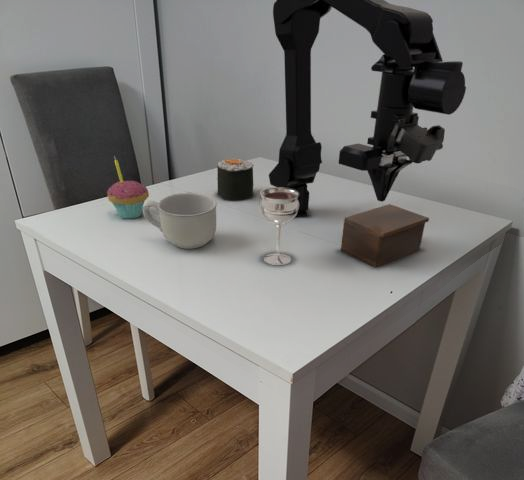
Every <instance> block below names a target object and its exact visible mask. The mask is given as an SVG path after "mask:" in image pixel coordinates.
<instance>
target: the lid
mask: <svg viewBox="0 0 524 480" xmlns="http://www.w3.org/2000/svg"><path fill="white" fill-rule="evenodd" d="M429 220H430V218H429V217H428V216H424V215H422V214H419V213H416V212H413V211H410V210H409V209H405V208H402V207H399V206H396V205H394V204H391V203H389V204H385V205H382V206H378V207H375V208H372V209H369V210H366V211H365V210H364V211H362V212H359V213H356V214H352V215H349V216H345V217H343V223H344V222H347V223H349V224H352V225H354V226H357V227H359V228H361V229H364V230H366V231H369V232H371V233H373V234H376V235H378V236H381V237H386V236H389V235H391V234H394V233H397V232H400V231H403V230H406V229H408V228H411V227H414V226H417V225H420V224H423V223H425V224H426V223H429Z"/></svg>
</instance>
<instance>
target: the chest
mask: <svg viewBox="0 0 524 480" xmlns="http://www.w3.org/2000/svg"><path fill="white" fill-rule="evenodd" d="M425 226H426V222H425V223H423V224H420V225H417V226H414V227H411V228H408V229H406V230H403V231H400V232H397V233H394V234H391V235H389V236H386V237H381V236H378V235H376V234H373V233H371V232H369V231H366V230H364V229H361V228H359V227H357V226H354V225H352V224H349V223H347V222H344V221H343V227H342V236H341V244H340V252H341V253H344V254H346V255H348V256H350V257H352V258H354V259H357V260H359V261H361V262H362V263H365V264H367V265H369V266H371V267H374V268H378V267H380V266H382V265H385V264H388V263H390V262H392V261H395V260H398V259H400V258H403V257H405V256H408V255H410V254H413V253H415V252H418V251H420V249H421V245H422V240H423V235H424V230H425Z"/></svg>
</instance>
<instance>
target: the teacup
mask: <svg viewBox="0 0 524 480" xmlns="http://www.w3.org/2000/svg"><path fill="white" fill-rule="evenodd" d="M150 208H154V209H155V210H156V211H157V214H158V216H159V220H157V219H156V218H155V217H153V216H152V215H151V213H150V212H149V211H150V210H149V209H150ZM142 214H143V217H144V219H146V221H147V222H148V223H150V224H151V225H153V226H154V227H156V228H158V229H159V231H160V232H161V233H162V235H163V237H164V238H165V240H166V241H168V242H169V243H170V244H172V245H173V246H175V247H177V248H180V249H185V250H186V249H187V250H190V249H191V250H192V249H193V250H194V249H198V248H201V247H203V246H205V245H207V244H208V243H209V242H210V241H211V240H212V239H213V238H214V236H215V235H216V232H217V200H215V198H213V197H212V196H209V195H207V194H203V193H199V192H180V193H174V194H169V195H167V196H165V197H163V198H162V199H160V200H159V201H158V202H157V201H155V200H149V201H147V202H145V203H144V204H143V208H142Z"/></svg>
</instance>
